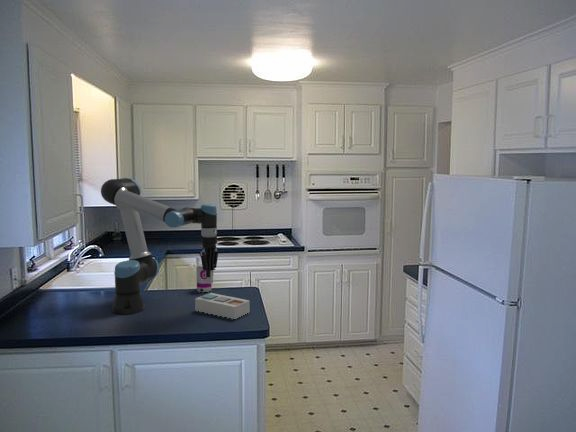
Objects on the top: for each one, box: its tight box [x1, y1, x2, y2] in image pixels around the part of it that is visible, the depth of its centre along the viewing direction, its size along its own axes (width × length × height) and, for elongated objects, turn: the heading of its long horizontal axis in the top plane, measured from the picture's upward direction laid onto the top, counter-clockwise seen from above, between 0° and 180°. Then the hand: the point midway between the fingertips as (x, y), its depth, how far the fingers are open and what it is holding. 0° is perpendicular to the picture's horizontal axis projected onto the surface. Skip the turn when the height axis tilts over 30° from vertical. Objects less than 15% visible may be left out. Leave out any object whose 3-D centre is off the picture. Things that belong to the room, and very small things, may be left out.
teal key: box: [202, 293, 217, 300], centre depth 239 cm, size 6×6×4 cm
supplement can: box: [196, 263, 213, 293], centre depth 270 cm, size 8×8×15 cm
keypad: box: [194, 292, 251, 320], centre depth 235 cm, size 12×24×6 cm, turn 59°
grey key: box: [214, 297, 230, 303], centre depth 235 cm, size 6×6×4 cm
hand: (209, 283), depth 238 cm, fingers closed
